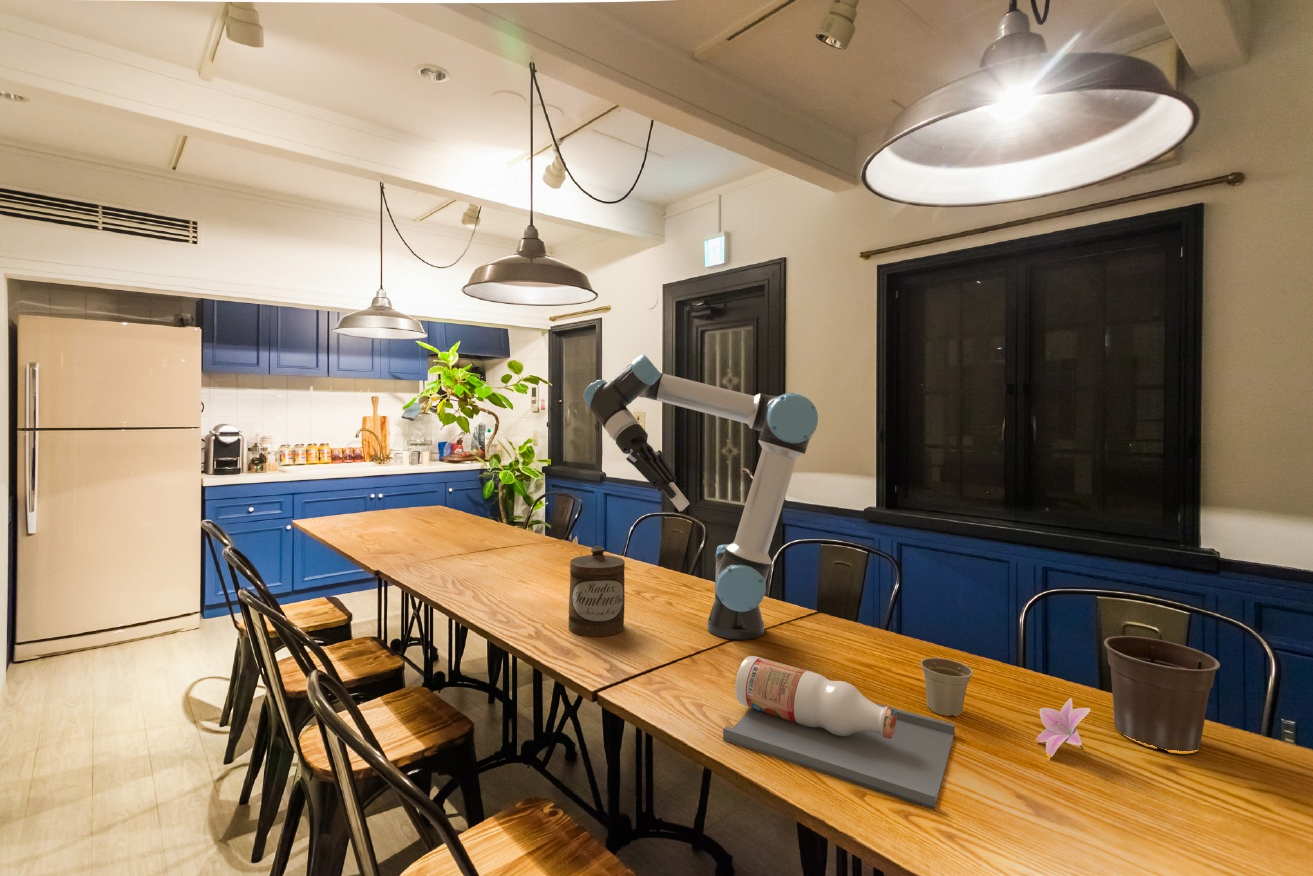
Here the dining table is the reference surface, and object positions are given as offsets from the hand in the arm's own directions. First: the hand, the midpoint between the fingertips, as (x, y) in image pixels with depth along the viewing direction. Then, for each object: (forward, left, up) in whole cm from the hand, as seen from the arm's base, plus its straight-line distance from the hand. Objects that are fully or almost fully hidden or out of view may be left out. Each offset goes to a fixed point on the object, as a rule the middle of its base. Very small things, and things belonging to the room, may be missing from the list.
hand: (684, 507), depth 139 cm
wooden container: (+1, -31, -36) cm, 48 cm away
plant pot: (-43, +80, -36) cm, 98 cm away
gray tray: (+2, +42, -36) cm, 56 cm away
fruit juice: (+6, +23, -31) cm, 39 cm away
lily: (-24, +70, -36) cm, 82 cm away
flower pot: (-24, +50, -36) cm, 66 cm away
